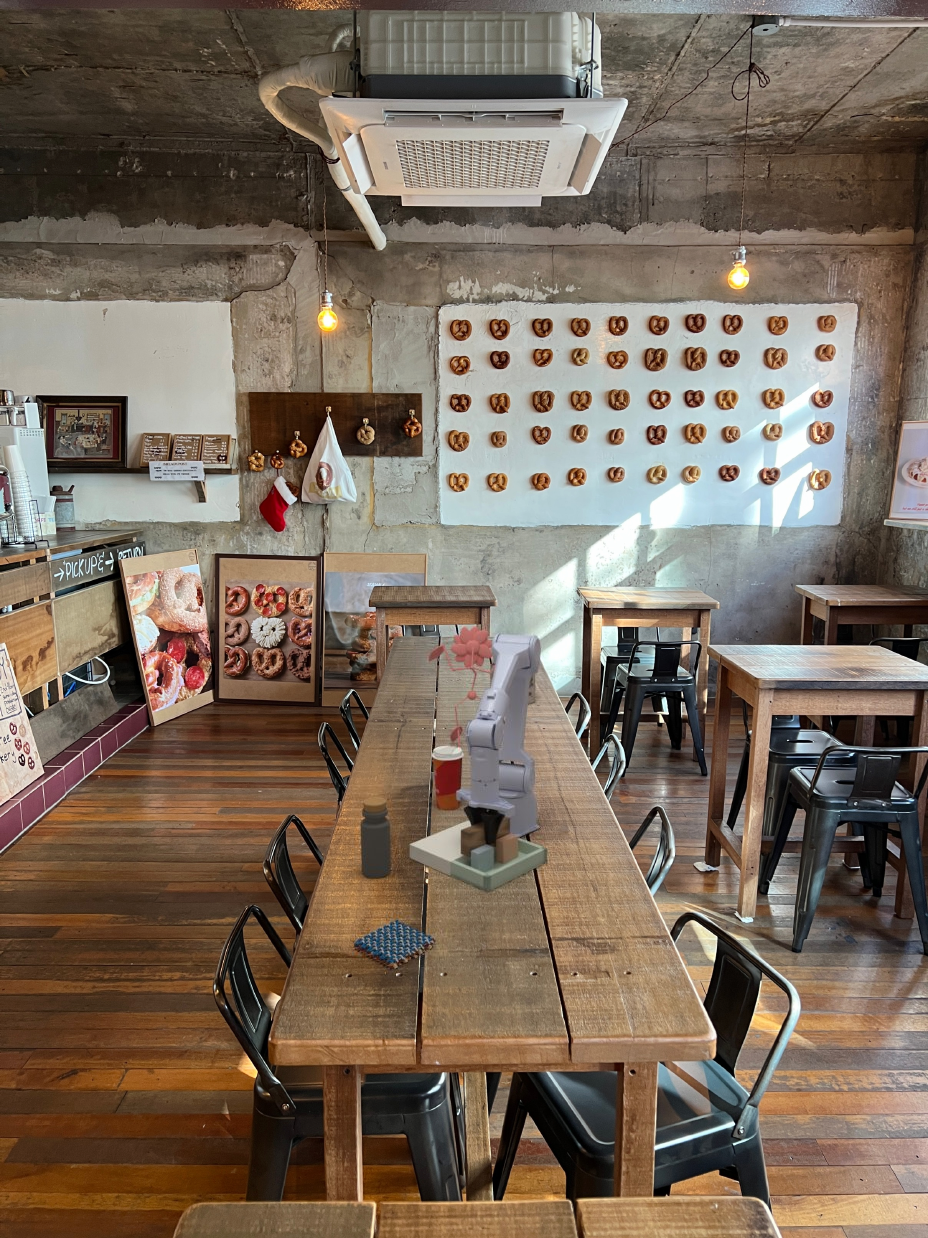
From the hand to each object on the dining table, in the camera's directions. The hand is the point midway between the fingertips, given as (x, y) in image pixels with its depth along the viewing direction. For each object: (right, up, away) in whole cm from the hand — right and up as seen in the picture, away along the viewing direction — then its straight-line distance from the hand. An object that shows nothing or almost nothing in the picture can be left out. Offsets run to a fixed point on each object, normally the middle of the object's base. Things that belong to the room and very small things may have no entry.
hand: (485, 841), depth 178 cm
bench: (-5, -4, +6) cm, 9 cm away
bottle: (-22, -6, -3) cm, 23 cm away
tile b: (-1, -2, -4) cm, 5 cm away
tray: (+3, -5, -2) cm, 6 cm away
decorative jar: (+13, +16, +128) cm, 130 cm away
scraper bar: (0, -1, 0) cm, 1 cm away
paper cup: (-8, 0, +32) cm, 33 cm away
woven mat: (-16, -11, -31) cm, 36 cm away
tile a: (+4, -2, +2) cm, 4 cm away
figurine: (-2, +8, +84) cm, 84 cm away
